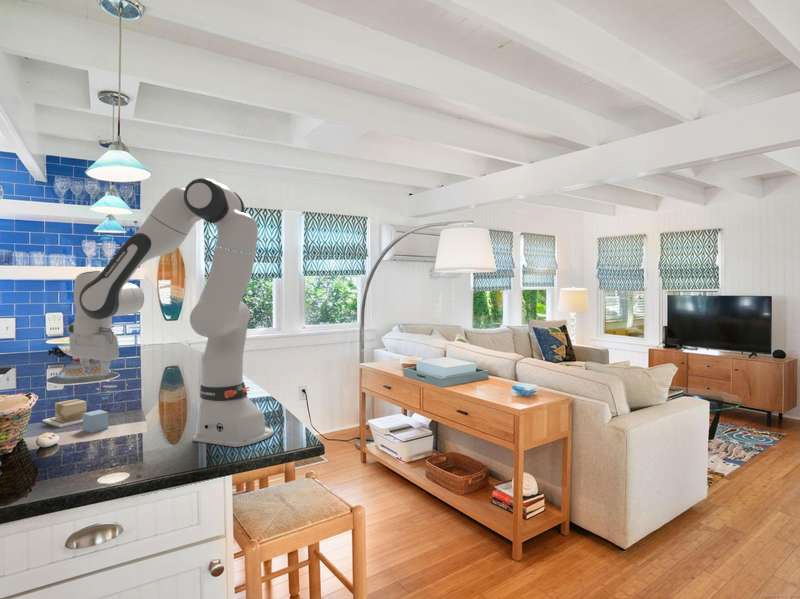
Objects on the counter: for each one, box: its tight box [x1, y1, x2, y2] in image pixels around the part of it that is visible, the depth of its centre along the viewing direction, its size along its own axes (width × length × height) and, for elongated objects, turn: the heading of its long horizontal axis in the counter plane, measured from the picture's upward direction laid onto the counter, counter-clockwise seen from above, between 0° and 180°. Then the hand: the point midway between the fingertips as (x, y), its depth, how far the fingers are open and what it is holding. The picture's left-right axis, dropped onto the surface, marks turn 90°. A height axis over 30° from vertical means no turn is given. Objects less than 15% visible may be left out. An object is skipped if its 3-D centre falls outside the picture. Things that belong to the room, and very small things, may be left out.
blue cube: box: [82, 409, 109, 434], centre depth 134 cm, size 5×5×5 cm
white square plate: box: [42, 416, 83, 428], centre depth 143 cm, size 11×11×1 cm
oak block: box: [54, 398, 88, 422], centre depth 142 cm, size 6×6×5 cm
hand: (95, 374), depth 134 cm, fingers open, 8 cm apart
